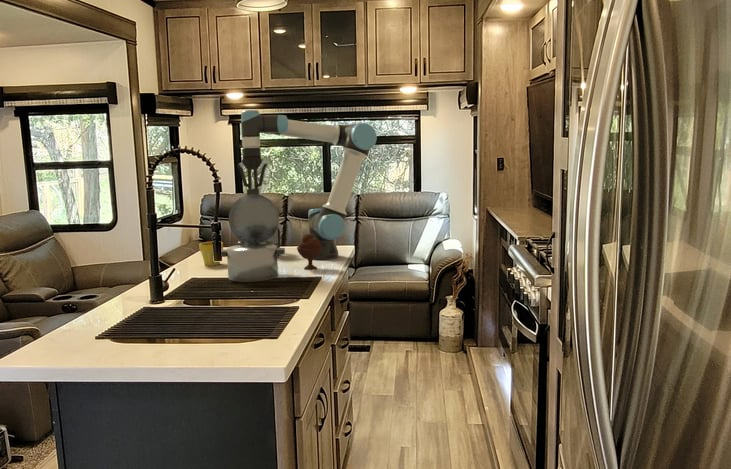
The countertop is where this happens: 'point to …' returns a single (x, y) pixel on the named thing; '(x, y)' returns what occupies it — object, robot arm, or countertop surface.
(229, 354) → the countertop surface
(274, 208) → the cooker lid
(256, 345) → the countertop surface
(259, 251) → the cooker pot
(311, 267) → the ice cream bowl
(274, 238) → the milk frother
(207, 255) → the plant pot
